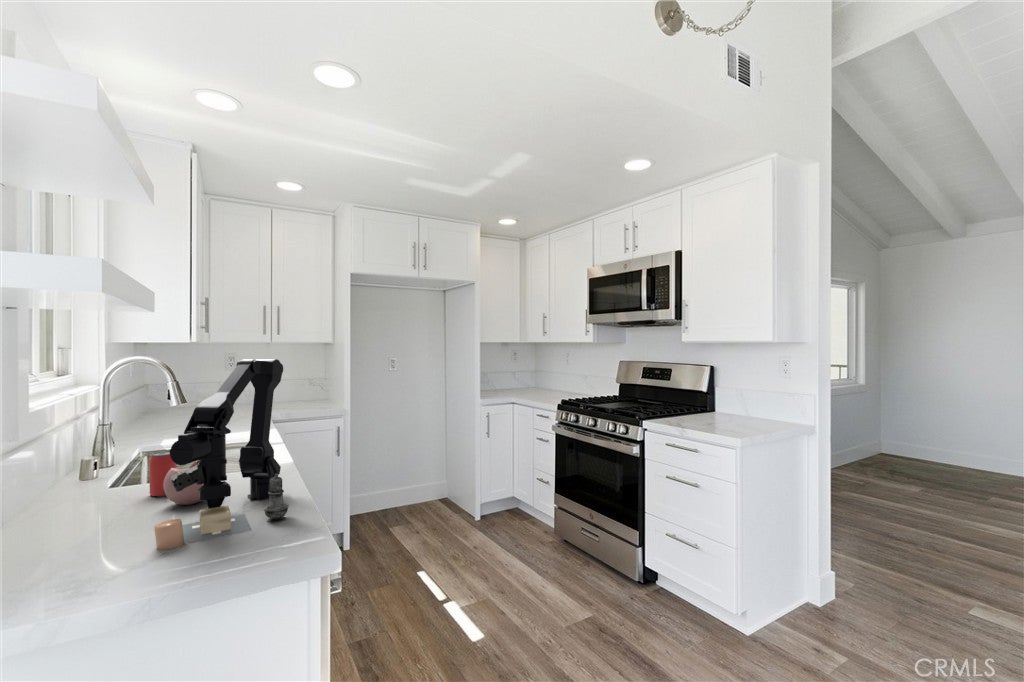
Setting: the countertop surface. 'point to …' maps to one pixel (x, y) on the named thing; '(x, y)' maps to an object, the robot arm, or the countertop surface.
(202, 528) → the maple block
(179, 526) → the terracotta cylinder
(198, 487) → the mortar and pestle
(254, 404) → the robot arm
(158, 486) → the beer can
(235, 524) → the letter mat
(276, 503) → the salt shaker
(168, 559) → the countertop surface
